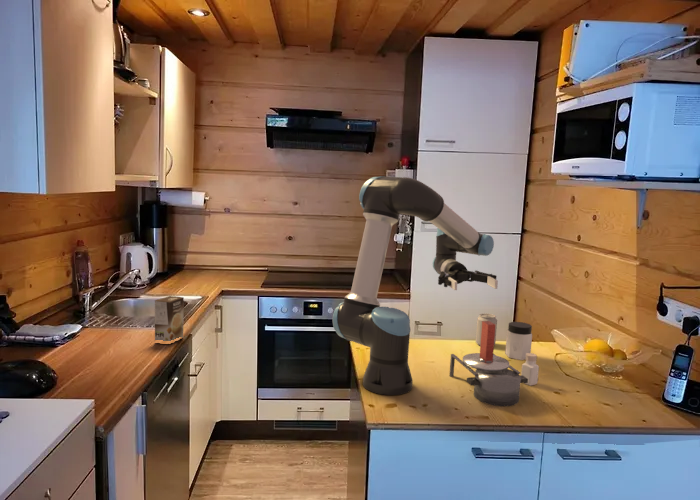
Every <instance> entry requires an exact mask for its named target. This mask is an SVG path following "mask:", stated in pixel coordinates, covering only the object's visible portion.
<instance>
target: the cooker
mask: <svg viewBox="0 0 700 500" xmlns="http://www.w3.org/2000/svg"><path fill="white" fill-rule="evenodd" d="M493 355H496V354H495V353H493ZM455 361H457V362H458V363H460V365H461V366H462V367H464V368H465V369H467V371H469V372H470V373H471V374H472V375H473V376H474V377H471V376H470V377H466V383H468V384H469V385H470V386H473V396H474V398H475V399H476V400H478V401H480V402H481V403H484V404H486V405H491V406H495V407H512V406H516V405H518V403H520V402H519V401H520V391H521V384H524V383H528V379H527V378H526V377H524V376H523V375H521V371H519V370H517V369H516V368H515V367H513V366H512V365H510V364H509V368H508V369H506V370H503V371H484V370H479V369H475V370H474V369H473V368H472V367H469V366H467V365H466V364H464V363H463V359H462V360H461V359H460V358H459V357H458V356H457V355H456V354H454V353H450V362H449V377H450V378H451V377H454V375H455Z"/></svg>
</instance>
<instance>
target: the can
mask: <svg viewBox="0 0 700 500" xmlns="http://www.w3.org/2000/svg"><path fill="white" fill-rule="evenodd" d="M496 317H497V316H496V315H494V314H492V313H485V312H484V313H480V314H479V316H477V322H476V332H475V333H476V334H475V335H476V336H475V343H476V344H477V345H478V346H479V347H480V345H481V332H482V321H490V322H492V323H494V324H495V337H494V346H496V340H497V338H496V337H497V325H498V319H497V318H496Z"/></svg>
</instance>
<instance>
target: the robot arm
mask: <svg viewBox="0 0 700 500" xmlns="http://www.w3.org/2000/svg"><path fill="white" fill-rule="evenodd" d="M358 197H359V198H358V199H359V200H358V201H359V202H360V203H359V204H360V207H361V208H362V210H363V212H362V216H363V217H364V218H365V220H366V221H365V225H364V230H363V234H362V239H361V243H360V248H359V252H358V257H357V262H356V266H355V270H354V274H353V275H354V276H353V280H352V286H351V289H350V292H349V293H348V294H347V295H345V296H344V297H343V298H344V299H343V302H339V304H338V305H337V307H335V309H334V312H333V314H332V326H333V330H334V331H335V333H336V334H337V336H339V337H340V338H342V339H345V341H348V342H353V343H355V344H359V345H361V346H364V347H367V348H369V361H368V363H367V366H366V369H365V372H364V374H363V378H362V385H363V387H364V388H365V389H366V390H368V391H369V392H372V393H375V394H378V395H386V396H399V395H403V394H407V393H409V392H410V391H411V390H412V389H413V381H414V380H413V376H412V373H411V369H410V366H409V349H410V336H411V320H410V316H409V314H407V313H406V312H405V311H403V310H401V309H399V308H395V307H390V306H381V303H380V302H379V300H378V295H379V290H380V284H381V280H382V274H383V271H384V266H385V261H386V256H387V251H388V247H389V242H390V237H391V233H392V228H393V226H394V225H395V224H397V223H399V218H400V215H405V216H412V217H416V218H418V219H420V220H421V221H423V222H430V224H432V225H434V226H435V228H436V229H437V230H436V237H435V239H436V241H435V243H436V244H435V248H436V249H435V256H434V258H433V260H432V268H433V270H434V271H435V272H436V274H438V275H439V276H438V279H437V284H438V285H440V286H441V285H443V287H444V288H448V287H449V288H451V289H452V290H453V291H457V290H458V284H459V285H460V284H462V283H463V282H469V283H470V282H471V283H472V282H479V283H484V284H487V285H488V286H490V287H491V288H493V289H495V290H498V282H499V281H498V280H497V274H496V275H495V274H492V273H487V272H482V271H478V270H474V271H473V270H468V269H467V267H466V265H464V264H463V263H461V262H460V261H457V253H464V254H468V255H477V256H485V257H487V256H490V255H491V254H492V252H493V249H494V244H495V241H494V238H493V236H491V235H489V234H487V233H480V232H479V231H478V230H476V229H475V228H474V227H473V226H472V225H470V224H469V223H468V222H467V221H466V220H465V219H464V218H462V217H461V216H460V215H459V214H458V213H457V212H455V211H454V210H453V209H452V208H451V207H449V206H448V205H447V204H446V203H445V199H444V198H443V197H442V195H440V194H439V193H438V192H437V191H435V190H434V189H433V188H431V187H430V186H429V185H427V184H426V183H424V182H422V181H421V180H420V181H419V180H417V179H415V178H412V177H408V176H407V177H401V176H399V177H397V176H386V175H385V176H384V175H382V176H381V175H380V176H373V177H370V178H369V179H367V180H366V181H365V182H364V183H363V184H362V186H361V188H360V191H359V196H358Z"/></svg>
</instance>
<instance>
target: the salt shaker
mask: <svg viewBox="0 0 700 500" xmlns="http://www.w3.org/2000/svg"><path fill="white" fill-rule="evenodd" d="M537 358H538V356H537V354H535V353H533V352H531V353H527V354H526V359H525V362H524V363H522V364H521V371H520V375H523V376H524V377H526V378H527V379H528V383H523V384H525V385H527V386H530V387H531V386H534V385H537V384H538V380H539V369H540V366H539V365H538V364H537Z"/></svg>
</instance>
